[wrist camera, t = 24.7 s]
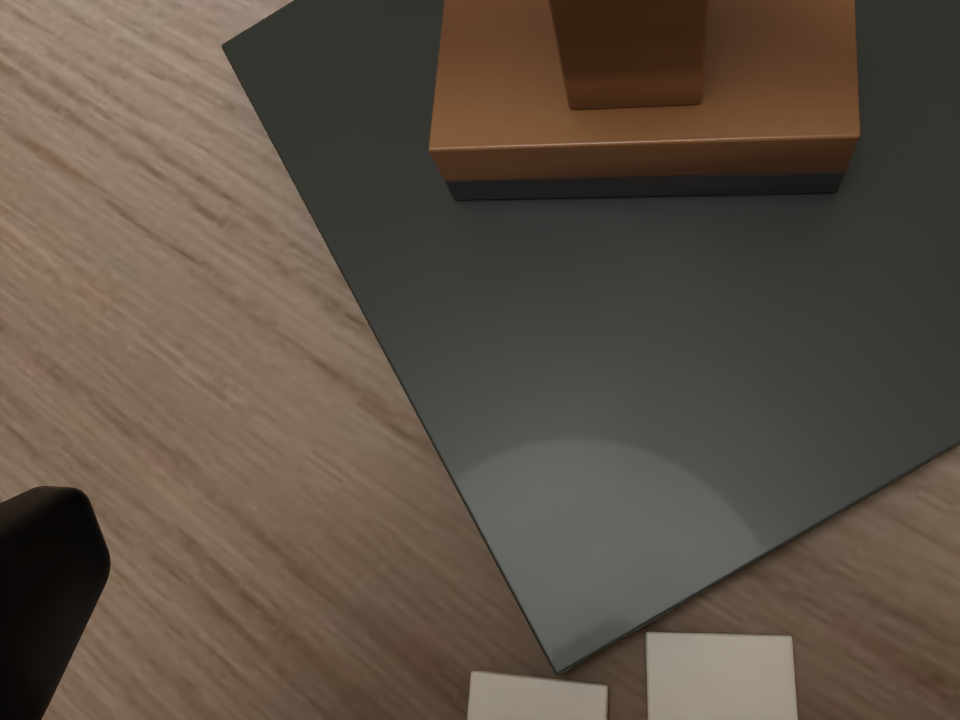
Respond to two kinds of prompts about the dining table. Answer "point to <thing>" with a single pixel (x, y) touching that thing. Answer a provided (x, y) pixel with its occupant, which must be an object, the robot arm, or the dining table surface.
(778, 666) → the chalk mark
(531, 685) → the chalk mark
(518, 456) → the slate board
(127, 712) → the dining table surface
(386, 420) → the dining table surface
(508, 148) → the eraser
